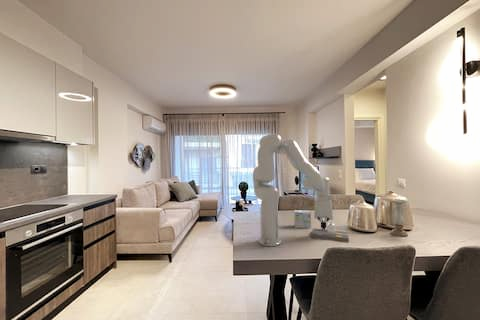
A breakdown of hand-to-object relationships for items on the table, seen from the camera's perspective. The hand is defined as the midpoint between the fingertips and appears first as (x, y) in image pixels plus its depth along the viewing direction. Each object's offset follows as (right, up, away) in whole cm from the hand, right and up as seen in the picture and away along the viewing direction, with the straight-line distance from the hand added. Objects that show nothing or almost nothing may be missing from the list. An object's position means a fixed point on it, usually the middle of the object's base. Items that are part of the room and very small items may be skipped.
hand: (323, 228), depth 136 cm
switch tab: (+4, -2, -2) cm, 5 cm away
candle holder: (+46, -4, +1) cm, 46 cm away
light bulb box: (-7, -5, +20) cm, 21 cm away
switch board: (+3, -4, -1) cm, 5 cm away
